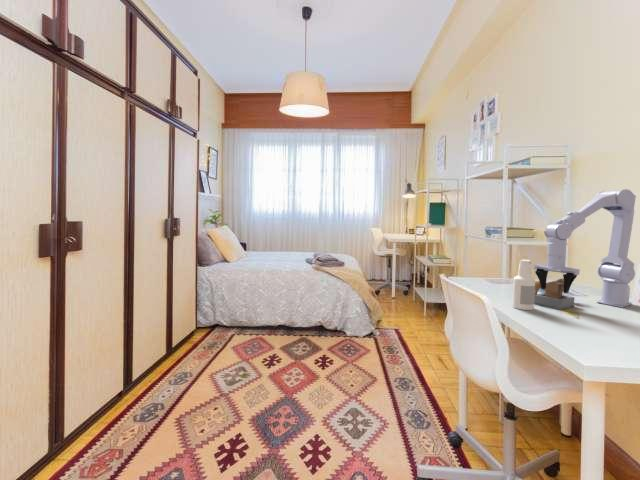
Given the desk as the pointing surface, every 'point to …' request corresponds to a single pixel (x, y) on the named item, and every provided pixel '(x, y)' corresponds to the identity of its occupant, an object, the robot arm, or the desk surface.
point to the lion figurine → (538, 286)
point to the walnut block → (554, 290)
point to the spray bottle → (524, 287)
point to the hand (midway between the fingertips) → (554, 290)
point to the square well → (554, 301)
